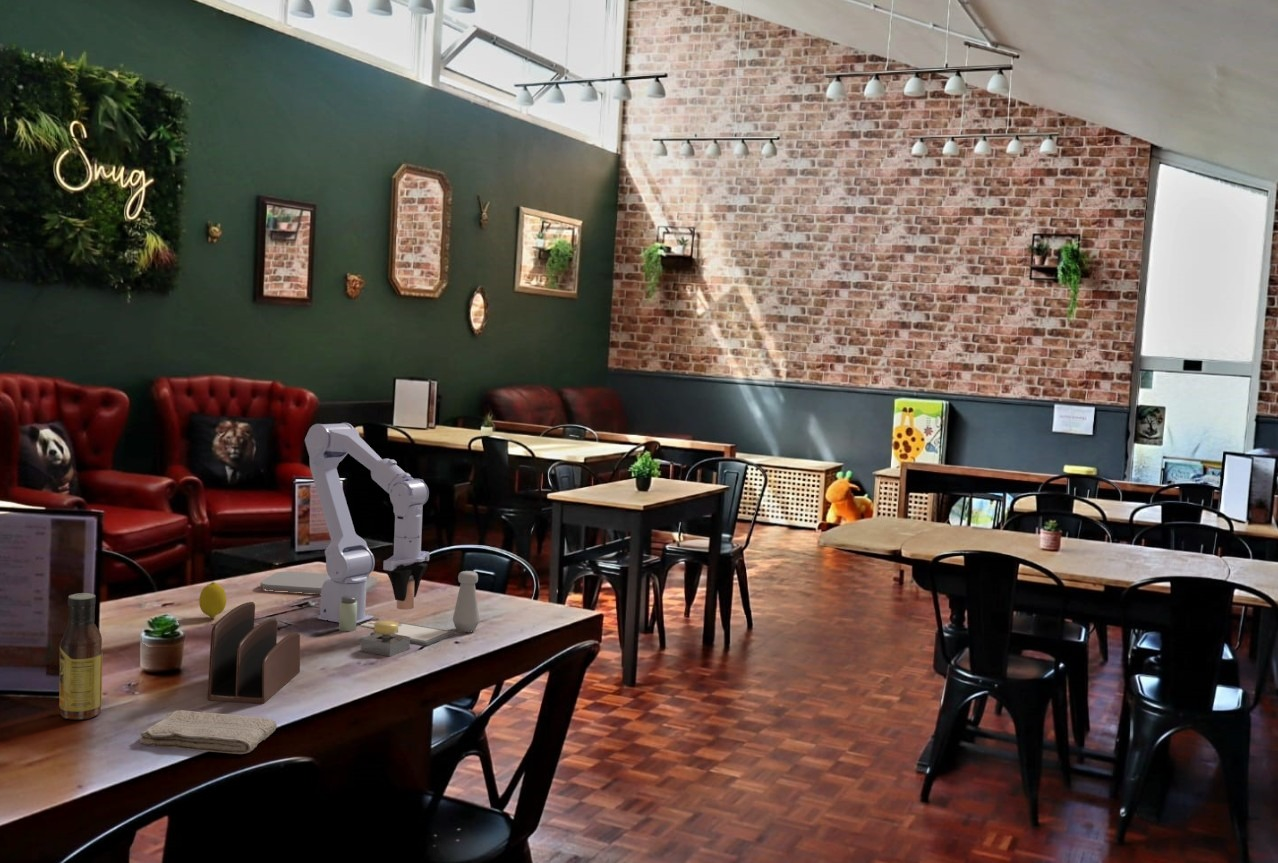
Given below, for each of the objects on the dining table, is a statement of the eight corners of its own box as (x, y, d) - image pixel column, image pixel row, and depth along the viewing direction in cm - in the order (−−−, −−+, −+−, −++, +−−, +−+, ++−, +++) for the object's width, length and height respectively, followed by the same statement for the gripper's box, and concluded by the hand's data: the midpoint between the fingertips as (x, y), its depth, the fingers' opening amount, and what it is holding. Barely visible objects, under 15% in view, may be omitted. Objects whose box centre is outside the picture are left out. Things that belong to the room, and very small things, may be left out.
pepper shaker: (393, 608, 252) (394, 576, 252) (401, 604, 256) (403, 573, 255) (408, 610, 251) (409, 577, 251) (416, 606, 254) (417, 575, 254)
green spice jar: (335, 629, 252) (336, 597, 252) (345, 626, 256) (347, 594, 255) (349, 632, 251) (350, 600, 250) (359, 628, 254) (360, 597, 254)
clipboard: (368, 635, 249) (369, 630, 249) (398, 624, 260) (398, 619, 259) (426, 645, 244) (426, 640, 244) (454, 634, 254) (455, 629, 254)
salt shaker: (473, 634, 255) (476, 575, 254) (448, 632, 256) (451, 573, 255) (482, 628, 260) (485, 570, 259) (458, 625, 262) (460, 568, 261)
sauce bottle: (68, 708, 193) (70, 589, 192) (107, 709, 194) (110, 591, 192) (51, 721, 187) (54, 598, 185) (92, 722, 187) (95, 600, 186)
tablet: (362, 600, 283) (362, 590, 283) (256, 593, 284) (256, 583, 284) (380, 586, 299) (380, 577, 299) (279, 579, 300) (279, 570, 300)
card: (360, 625, 257) (360, 624, 257) (371, 622, 261) (371, 620, 260) (379, 629, 255) (379, 627, 255) (390, 625, 259) (390, 623, 259)
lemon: (193, 619, 255) (194, 582, 254) (211, 614, 260) (212, 578, 259) (213, 622, 253) (214, 586, 252) (231, 617, 258) (232, 581, 257)
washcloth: (171, 723, 190) (171, 705, 190) (279, 732, 189) (280, 713, 189) (134, 749, 179) (135, 729, 178) (250, 758, 177) (250, 738, 177)
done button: (368, 642, 238) (369, 624, 237) (382, 637, 242) (383, 619, 242) (388, 646, 236) (389, 627, 235) (402, 640, 240) (403, 623, 240)
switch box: (360, 651, 237) (361, 638, 237) (381, 643, 244) (381, 631, 243) (389, 656, 234) (390, 644, 234) (409, 648, 241) (410, 636, 241)
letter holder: (206, 701, 201) (209, 620, 200) (248, 669, 221) (250, 595, 220) (264, 705, 201) (266, 624, 200) (300, 672, 221) (303, 599, 220)
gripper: (404, 542, 244) (401, 607, 245) (442, 533, 257) (439, 594, 258) (375, 538, 247) (373, 602, 248) (414, 530, 260) (412, 590, 261)
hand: (405, 598), depth 253 cm, fingers closed on pepper shaker, 4 cm apart
